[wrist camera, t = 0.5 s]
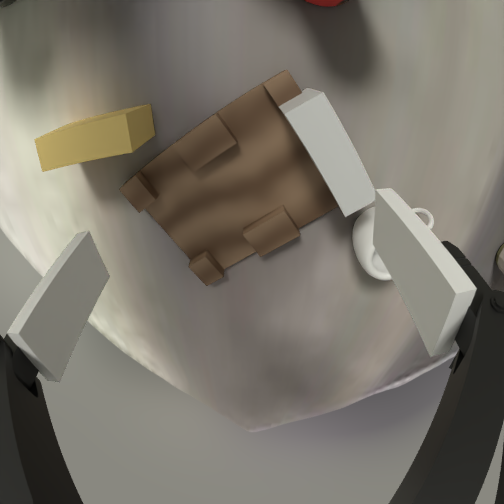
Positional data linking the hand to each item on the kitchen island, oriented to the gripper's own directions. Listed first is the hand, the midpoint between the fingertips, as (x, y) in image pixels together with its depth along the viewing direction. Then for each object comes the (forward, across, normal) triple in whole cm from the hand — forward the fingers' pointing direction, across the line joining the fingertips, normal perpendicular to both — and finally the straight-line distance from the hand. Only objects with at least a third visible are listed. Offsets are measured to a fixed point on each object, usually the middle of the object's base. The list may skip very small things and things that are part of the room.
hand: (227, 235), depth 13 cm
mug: (+24, +18, -15) cm, 33 cm away
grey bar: (+24, +9, -2) cm, 25 cm away
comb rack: (+24, -1, -7) cm, 25 cm away
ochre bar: (+24, -16, +4) cm, 30 cm away
